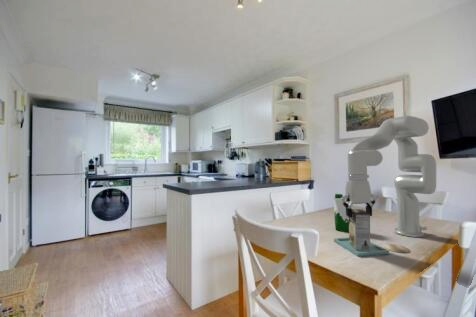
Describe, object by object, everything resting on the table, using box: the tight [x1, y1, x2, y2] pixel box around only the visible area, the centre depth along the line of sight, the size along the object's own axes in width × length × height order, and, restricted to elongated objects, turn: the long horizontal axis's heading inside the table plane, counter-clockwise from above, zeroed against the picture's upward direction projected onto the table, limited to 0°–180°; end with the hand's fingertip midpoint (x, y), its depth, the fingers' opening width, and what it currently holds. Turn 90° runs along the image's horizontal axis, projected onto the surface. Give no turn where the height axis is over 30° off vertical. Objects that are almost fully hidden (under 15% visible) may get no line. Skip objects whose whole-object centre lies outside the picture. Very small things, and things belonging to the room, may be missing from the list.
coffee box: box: [348, 208, 371, 251], centre depth 101 cm, size 9×6×16 cm
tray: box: [333, 237, 390, 258], centre depth 102 cm, size 14×18×2 cm
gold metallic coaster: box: [383, 243, 410, 254], centre depth 100 cm, size 9×9×1 cm
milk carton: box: [333, 193, 353, 233], centre depth 129 cm, size 9×9×20 cm
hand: (359, 215), depth 101 cm, fingers open, 9 cm apart
